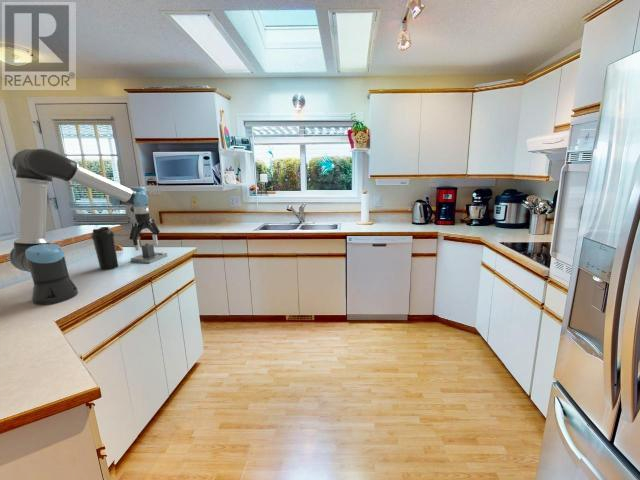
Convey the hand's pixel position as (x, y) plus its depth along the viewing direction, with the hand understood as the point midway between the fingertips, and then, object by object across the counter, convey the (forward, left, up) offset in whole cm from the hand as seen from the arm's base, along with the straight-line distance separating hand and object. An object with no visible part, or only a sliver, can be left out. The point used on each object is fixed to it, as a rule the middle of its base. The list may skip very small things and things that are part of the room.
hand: (147, 247), depth 182 cm
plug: (0, 0, -8) cm, 8 cm away
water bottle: (-18, +10, -8) cm, 22 cm away
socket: (0, 0, -7) cm, 7 cm away
